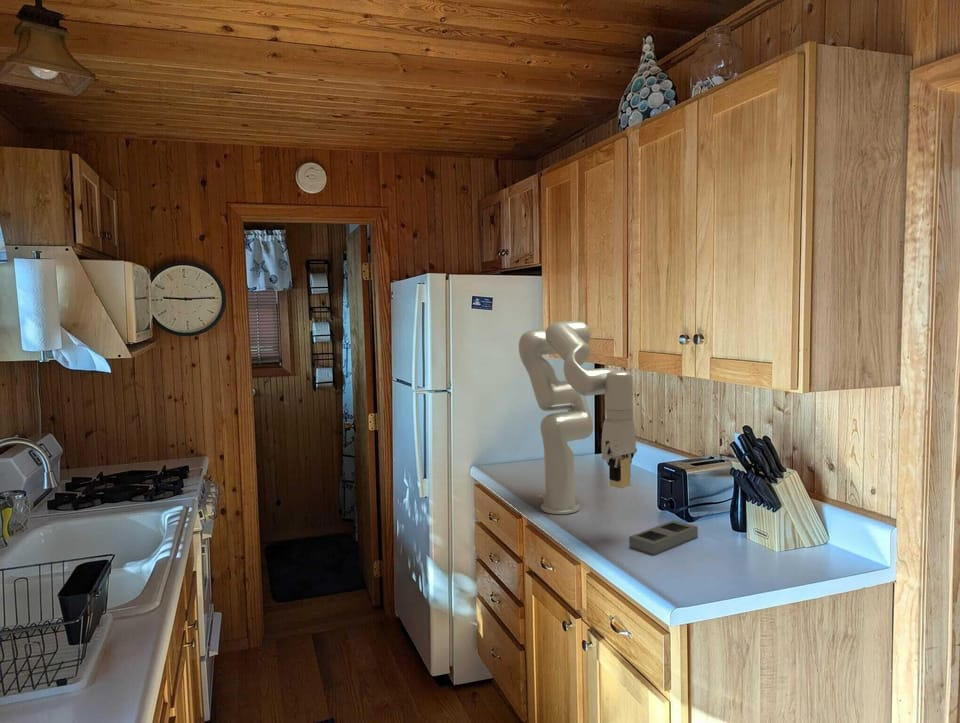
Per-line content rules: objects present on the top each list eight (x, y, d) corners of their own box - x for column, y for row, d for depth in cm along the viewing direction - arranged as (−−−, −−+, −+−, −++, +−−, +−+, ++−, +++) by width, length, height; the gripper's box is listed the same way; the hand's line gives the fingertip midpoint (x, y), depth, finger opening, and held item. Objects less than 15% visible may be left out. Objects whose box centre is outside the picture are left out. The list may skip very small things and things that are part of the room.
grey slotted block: (629, 547, 185) (629, 536, 185) (673, 530, 198) (673, 520, 197) (653, 555, 179) (653, 544, 179) (697, 537, 191) (697, 526, 191)
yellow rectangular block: (610, 485, 193) (609, 457, 192) (619, 482, 195) (618, 455, 195) (621, 488, 190) (620, 460, 189) (630, 485, 192) (630, 457, 192)
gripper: (627, 409, 199) (628, 471, 201) (589, 417, 189) (590, 482, 190) (648, 412, 193) (649, 475, 195) (610, 420, 183) (610, 487, 184)
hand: (620, 478), depth 192 cm, fingers closed on yellow rectangular block, 4 cm apart
